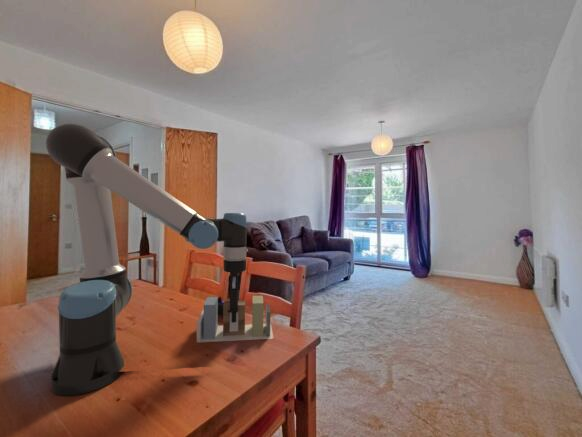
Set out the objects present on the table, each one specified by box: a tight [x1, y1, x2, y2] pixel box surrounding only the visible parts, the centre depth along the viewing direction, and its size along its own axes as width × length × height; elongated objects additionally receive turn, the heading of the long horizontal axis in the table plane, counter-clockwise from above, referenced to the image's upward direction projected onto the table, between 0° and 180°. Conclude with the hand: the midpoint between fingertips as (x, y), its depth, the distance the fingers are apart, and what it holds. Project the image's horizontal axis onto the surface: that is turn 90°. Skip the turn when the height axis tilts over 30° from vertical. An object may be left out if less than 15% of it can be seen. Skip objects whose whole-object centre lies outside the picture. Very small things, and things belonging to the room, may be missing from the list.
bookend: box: [265, 302, 271, 336], centre depth 98 cm, size 9×1×8 cm, turn 8°
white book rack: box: [196, 309, 275, 343], centre depth 96 cm, size 12×24×8 cm, turn 98°
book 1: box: [203, 296, 219, 339], centre depth 95 cm, size 8×4×11 cm, turn 8°
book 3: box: [251, 295, 265, 337], centre depth 97 cm, size 8×4×11 cm, turn 8°
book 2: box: [222, 300, 246, 336], centre depth 96 cm, size 4×7×10 cm, turn 98°
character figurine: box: [218, 296, 225, 316], centre depth 113 cm, size 8×7×15 cm
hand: (234, 327), depth 96 cm, fingers open, 5 cm apart
